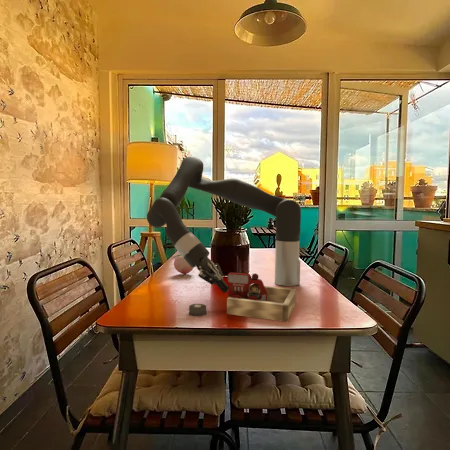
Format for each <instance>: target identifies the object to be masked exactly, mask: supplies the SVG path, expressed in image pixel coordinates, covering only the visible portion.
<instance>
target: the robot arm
mask: <svg viewBox="0 0 450 450" xmlns="http://www.w3.org/2000/svg"><path fill="white" fill-rule="evenodd" d="M203 173H204V162H203V161H202V159H200V158H198V157H196V156H187V157H184V158H183V159H182V161H181V163H180V166H179V167H178V169H177V172H176V174H175V175H174V176H173V178H172V180H171V181H170V182H169V184H168V185H167V186H166V188H165V189H164V191H163V192H162V193H161V194H160V196H159V197H157V198H156V199H155V200H154V202H153V203H152V204H151V207H150V208H149V210H148V212H147V214H146V219H147V220H146V221H147V223H148V225H149V226H151V227H153V228H156V229H157V228H163V227H164V226H165V225H166V228H165V236H166V238H167V239H168V241H170V243H171V244H172V245H173V246H174V248H175V249H176V250H177V252H178V253H179V254H181V256H182V257H183V258H184V259H185V260H186V262H187V263H188V264H189V265H190V266H191V267H192V268H193V269H194V268H196V269H197V271H199V273H198V275H197V276H198V277H199V278H200V279H202V280H204V281H205V282H206V283H208V284H210V285H216V286H217V288H218V289H220V291H221V292H222V293H223V294H226V293H227V292H228V291H229V284H227V283H226V281H225V280H224V273H223V271H222V269H221V266H220V264H219V263H218V262H215V263H214V262H213V260H211V259H210V258H209V255H210V251H209V250H208V249H207V248H206V247H205V245H204V244H203V243H202V242H201V241H200V240H199V239H198V237H197V236H196V235H194V234H193V232H191V230H190V229H189V228H188V227H187V226H186V224H185V223H184V222H183V220H182V217H181V215H180V214H179V211H178V210H177V207H178V206H179V205H180V203H181V202H182V200H183V199H184V197H185V195H186V194H187V191H188V188H192V189H194V190H199V191H202V192H205V193H208V194H212V195H214V196H217V197H220V198H223V199H225V200H227V201H228V202H229V201H230V202H232V203H235V204H236V205H240V206H242V207H246V208H250V209H253V210H258V211H262V212H265V213H267V214H269V215H270V216H273V217H275V252H274V253H275V254H274V255H275V260H274V263H275V264H274V265H275V266H274V284H275V285H277V286H283V287H284V286H285V287H294V286H300V285H301V284H300V283H301V260H300V238H301V224H302V223H301V222H302V220H301V219H302V210H301V206H300V204H299V203H298V202H297V201H295V200H294V199H289V198H288V199H287V198H283V197H280V196H276V195H273V194H270V193H268V192H266V191H264V190H263V189H261V188H259V187H256V186H255V185H253V184H251V183H249V182H246V181H243V180H240V179H238V178H235V177H234V178H225V179H220V180H210V179H206V178H204V177H202V176H203Z"/></svg>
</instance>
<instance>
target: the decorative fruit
mask: <svg viewBox="0 0 450 450" xmlns="http://www.w3.org/2000/svg"><path fill="white" fill-rule="evenodd" d="M173 258H175V259H174V260H173V268H174V269H175V270H176V271H177V272H178V273H180V274H181V275H188V274H189V273H190V272H192V271H193V269H194V268H192V267H191V266H190V265H189V264H188V263H187V262H186V260H185V259H184V258H183V257H182V256H181V254H180V253H179V254H176V255H174V257H173Z"/></svg>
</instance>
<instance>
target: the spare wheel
mask: <svg viewBox="0 0 450 450" xmlns="http://www.w3.org/2000/svg"><path fill="white" fill-rule="evenodd" d="M188 314H189V316H190V315H191V316H193V317H203V316H205V315H207V305H206V304H204V303H194V304H189V306H188Z"/></svg>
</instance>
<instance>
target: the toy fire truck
mask: <svg viewBox="0 0 450 450" xmlns="http://www.w3.org/2000/svg"><path fill="white" fill-rule="evenodd" d="M226 281H227V283H228V286H229V290H228V291H227V292H228V296H227V298H229V297H230V298H239V299H249V300H258V301H267V290H266V288H265V286H266V285H265V284H264V282H263V280H262V279H260V278H259V274H257V273H253V274H252V275H251V274H250V273H243V272H241V273H240V272H229V273H228V274H227V280H226ZM250 285H251V286H250ZM249 286H250V291H251V292H250V293H249V296H248V295H247V294H248V292H249ZM259 290H260V293H258V292H259ZM267 302H268V301H267Z"/></svg>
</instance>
